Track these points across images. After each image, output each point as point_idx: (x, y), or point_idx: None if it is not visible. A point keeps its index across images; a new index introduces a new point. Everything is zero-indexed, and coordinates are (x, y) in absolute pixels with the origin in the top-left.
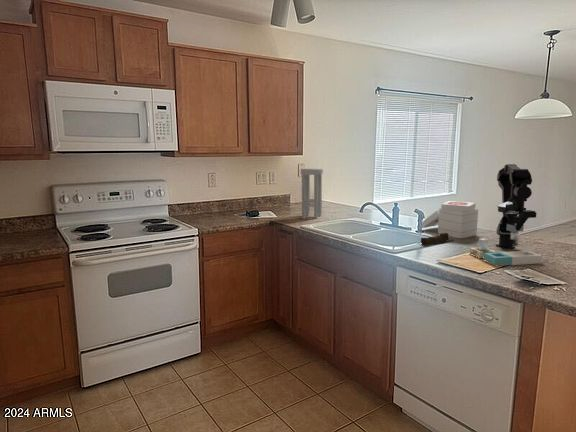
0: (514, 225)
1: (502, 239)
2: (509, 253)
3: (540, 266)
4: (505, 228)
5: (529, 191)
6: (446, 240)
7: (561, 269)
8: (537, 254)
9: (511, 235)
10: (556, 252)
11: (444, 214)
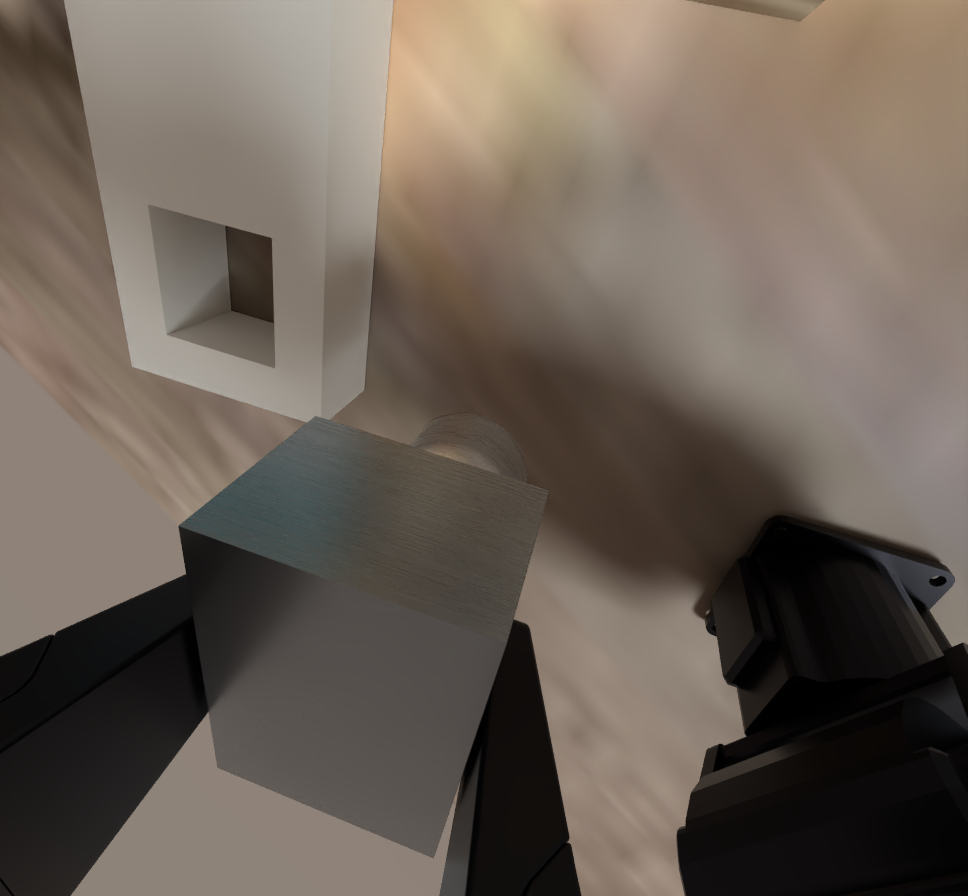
0: (191, 582)
1: (863, 621)
2: (236, 11)
3: (105, 230)
4: (857, 777)
5: None
6: None
7: (36, 322)
8: (167, 359)
9: (453, 452)
10: None
11: None
